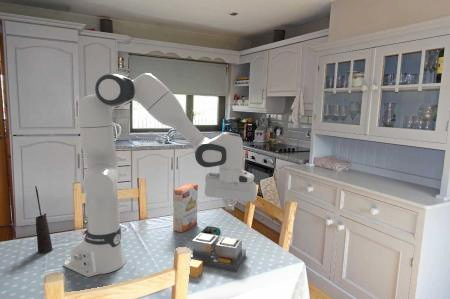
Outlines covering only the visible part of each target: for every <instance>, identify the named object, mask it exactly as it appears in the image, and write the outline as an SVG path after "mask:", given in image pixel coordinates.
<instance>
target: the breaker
mask: <svg viewBox="0 0 450 299" xmlns="http://www.w3.org/2000/svg"><path fill="white" fill-rule="evenodd" d="M213 239H214V235H208V234H202V235H201V236H200V237H199V238H198V241H203V242H209V243H210V242H211V241H212V240H213Z"/></svg>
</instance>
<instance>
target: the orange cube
mask: <svg viewBox="0 0 450 299" xmlns="http://www.w3.org/2000/svg"><path fill="white" fill-rule="evenodd" d="M203 268H204V265H203V261H198V260H193V259H191V262H190V274H189V277H193V276H195V277H194V278H198V277H199V276H200V275H201V274H202V273H203Z"/></svg>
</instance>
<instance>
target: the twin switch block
mask: <svg viewBox="0 0 450 299" xmlns="http://www.w3.org/2000/svg"><path fill="white" fill-rule="evenodd" d="M199 233H200V232H199ZM199 233H198V234H199ZM198 234H197V235H198ZM202 234H205V233H200V234H199V235H198V236H197V235H196V236H197V237H196V236H195V237H196V238H195V239H194V238H193V239H192V242H191V244H192V246H191V248H192V249H191V251H190V252H192V255H191V259H193V260H198V261H203V267H204V266H206V267H209V268H215V269H219V270H222V271H230V272H233V273H236V272H237V270H238V268H239V267H240V266H241V264H242V262H243V261H244V259H245V257H246V255H247V249H246V248H243V239H239V238H233V237H231V238H232V239H237V244H236V246H235V247H231V246H226V245H221V242H222V241H223V240H224V238H225V237H226V238H230V237H229V236H222V237H221V238H220V237H219V235H214V239H213V240H212V241H211V242H210V243H209V242H203V241H198V238H199V237H200V236H201V235H202ZM208 235H211V234H208ZM219 238H220V239H219Z"/></svg>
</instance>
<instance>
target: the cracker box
mask: <svg viewBox="0 0 450 299" xmlns="http://www.w3.org/2000/svg"><path fill="white" fill-rule="evenodd" d="M198 189H199V188H198V184H197V183H186V184H184V185H182V186H179V187H176V188H175V189H173V198H172V200H173V205H172V206H173V207H172V208H173V210H172V211H173V215H172V219H173V220H172V225H173V227H172V228H173V229H172V231H174V232H178V233H185V231H187V230H189V229H190V228H192V227H194V226H195V225H196V224H197V223H198V195H199V194H198V192H199V191H198Z"/></svg>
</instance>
